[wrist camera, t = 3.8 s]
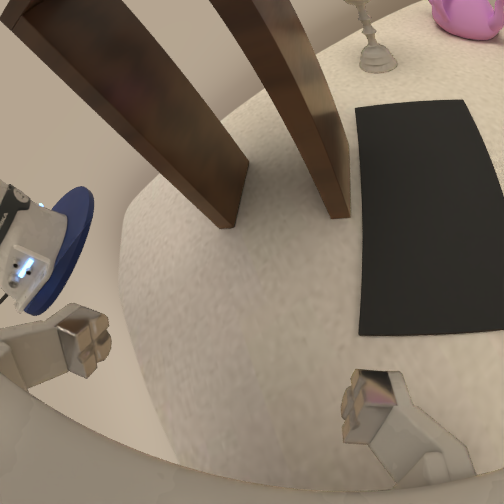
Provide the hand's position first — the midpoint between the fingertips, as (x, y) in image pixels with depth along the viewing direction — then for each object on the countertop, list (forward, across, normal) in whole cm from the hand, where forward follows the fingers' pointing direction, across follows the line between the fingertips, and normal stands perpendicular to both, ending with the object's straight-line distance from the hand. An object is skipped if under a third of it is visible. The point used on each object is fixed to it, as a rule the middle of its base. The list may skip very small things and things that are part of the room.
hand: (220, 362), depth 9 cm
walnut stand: (+20, 0, +4) cm, 20 cm away
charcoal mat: (+15, +12, +6) cm, 20 cm away
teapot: (+32, +25, +34) cm, 53 cm away
